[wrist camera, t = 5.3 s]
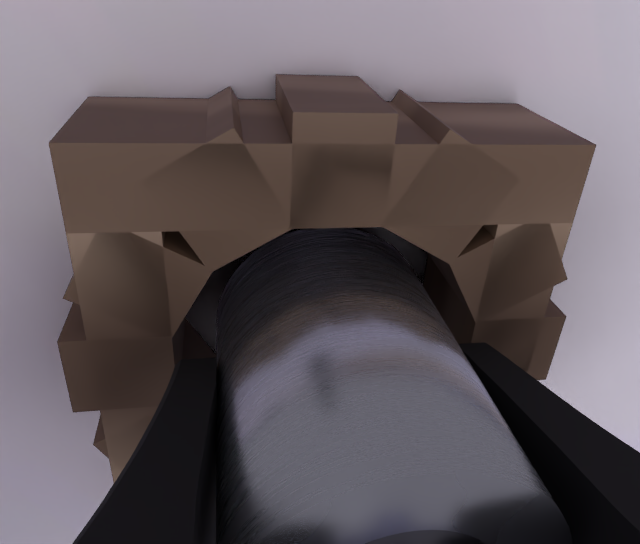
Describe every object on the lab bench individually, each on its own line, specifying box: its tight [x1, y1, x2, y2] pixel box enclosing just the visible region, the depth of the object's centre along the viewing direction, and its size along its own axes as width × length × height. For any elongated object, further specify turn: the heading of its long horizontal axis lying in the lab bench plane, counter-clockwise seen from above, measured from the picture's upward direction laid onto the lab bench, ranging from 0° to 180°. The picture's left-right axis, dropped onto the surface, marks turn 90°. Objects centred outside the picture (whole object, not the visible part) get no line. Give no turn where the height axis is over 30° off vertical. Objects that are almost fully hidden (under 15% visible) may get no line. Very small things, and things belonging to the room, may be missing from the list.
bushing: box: [216, 228, 572, 544], centre depth 9 cm, size 4×4×6 cm
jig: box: [49, 74, 596, 483], centre depth 13 cm, size 12×10×4 cm
